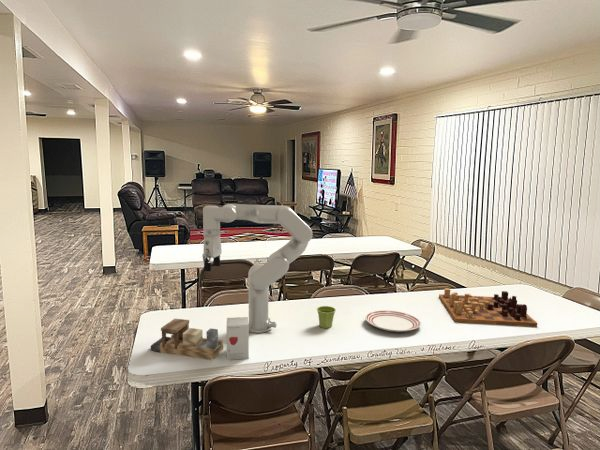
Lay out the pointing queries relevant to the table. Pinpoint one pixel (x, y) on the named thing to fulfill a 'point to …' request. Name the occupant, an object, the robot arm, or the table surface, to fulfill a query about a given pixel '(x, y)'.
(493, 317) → the gameboard
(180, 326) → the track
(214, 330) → the beige and grey block
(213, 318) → the table surface
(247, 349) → the supplement box
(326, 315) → the plant pot
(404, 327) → the dinner plate
